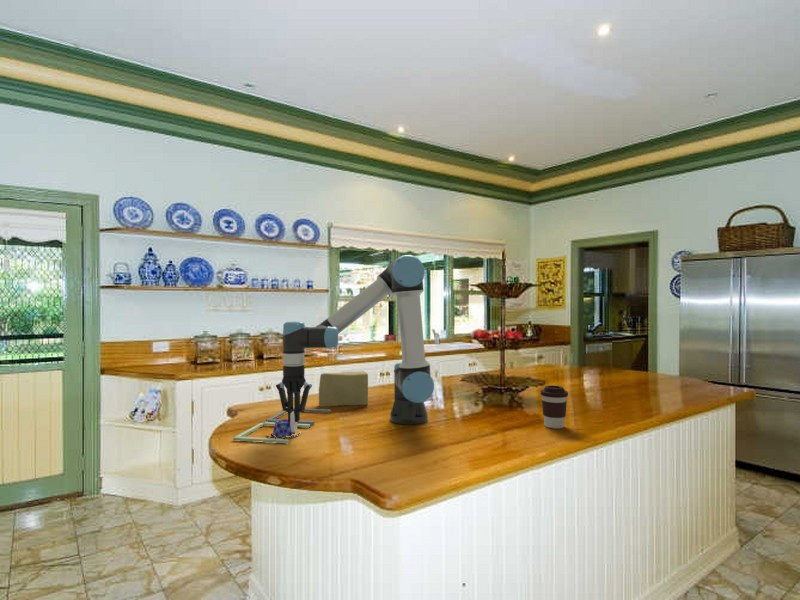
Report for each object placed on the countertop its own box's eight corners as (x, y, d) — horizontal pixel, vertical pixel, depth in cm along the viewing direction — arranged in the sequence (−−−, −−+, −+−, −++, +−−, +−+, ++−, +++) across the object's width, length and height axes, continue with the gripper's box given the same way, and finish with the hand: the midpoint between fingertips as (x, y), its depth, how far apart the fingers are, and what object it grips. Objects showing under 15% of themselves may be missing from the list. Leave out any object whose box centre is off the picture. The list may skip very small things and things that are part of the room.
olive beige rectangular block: (319, 408, 207) (319, 375, 207) (317, 404, 216) (317, 371, 216) (368, 405, 213) (368, 372, 213) (364, 401, 222) (364, 369, 222)
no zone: (331, 412, 199) (331, 409, 199) (313, 425, 179) (313, 422, 179) (288, 410, 203) (288, 407, 203) (266, 423, 182) (266, 420, 182)
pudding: (265, 441, 159) (265, 426, 159) (267, 432, 171) (267, 417, 171) (300, 439, 162) (300, 424, 162) (300, 430, 173) (300, 416, 173)
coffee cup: (569, 424, 179) (569, 385, 179) (566, 431, 170) (566, 390, 170) (542, 421, 183) (542, 383, 183) (538, 428, 174) (538, 388, 174)
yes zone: (310, 427, 176) (310, 424, 176) (286, 444, 155) (286, 440, 155) (262, 425, 179) (262, 421, 179) (233, 441, 159) (233, 437, 159)
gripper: (314, 363, 168) (314, 428, 168) (281, 363, 171) (281, 427, 171) (307, 366, 161) (307, 434, 161) (272, 365, 163) (272, 432, 163)
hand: (293, 430), depth 166 cm, fingers closed
